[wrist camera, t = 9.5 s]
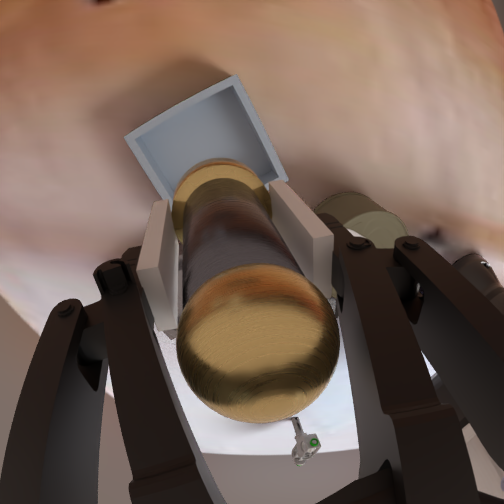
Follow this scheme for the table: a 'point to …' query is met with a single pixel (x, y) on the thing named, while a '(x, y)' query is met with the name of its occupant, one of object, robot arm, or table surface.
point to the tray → (205, 137)
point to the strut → (246, 301)
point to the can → (363, 219)
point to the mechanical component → (304, 444)
